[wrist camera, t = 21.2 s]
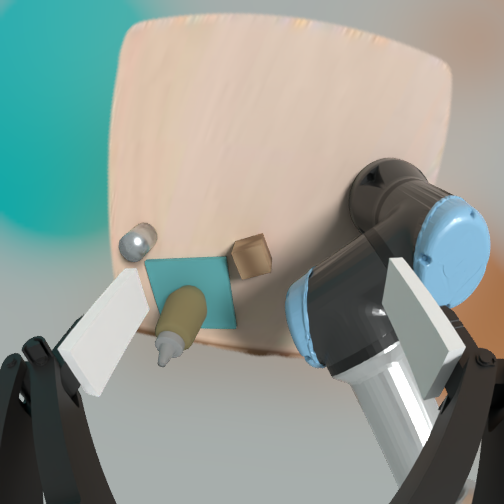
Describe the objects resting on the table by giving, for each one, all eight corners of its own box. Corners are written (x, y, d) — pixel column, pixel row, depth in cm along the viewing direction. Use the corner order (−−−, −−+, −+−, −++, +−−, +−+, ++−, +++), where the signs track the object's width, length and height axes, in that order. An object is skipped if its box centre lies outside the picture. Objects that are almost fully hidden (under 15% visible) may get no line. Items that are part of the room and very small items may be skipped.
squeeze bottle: (164, 294, 54) (127, 357, 38) (188, 271, 51) (153, 336, 35) (194, 319, 56) (168, 387, 40) (219, 299, 53) (198, 370, 37)
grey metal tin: (154, 221, 48) (140, 234, 43) (159, 246, 51) (147, 261, 45) (131, 223, 49) (115, 236, 44) (137, 248, 51) (123, 262, 46)
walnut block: (262, 232, 48) (261, 245, 43) (271, 258, 50) (271, 272, 45) (235, 241, 49) (231, 253, 44) (245, 265, 51) (242, 279, 46)
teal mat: (226, 256, 50) (225, 258, 49) (236, 325, 57) (236, 328, 56) (146, 259, 52) (144, 261, 51) (165, 324, 59) (164, 326, 58)
